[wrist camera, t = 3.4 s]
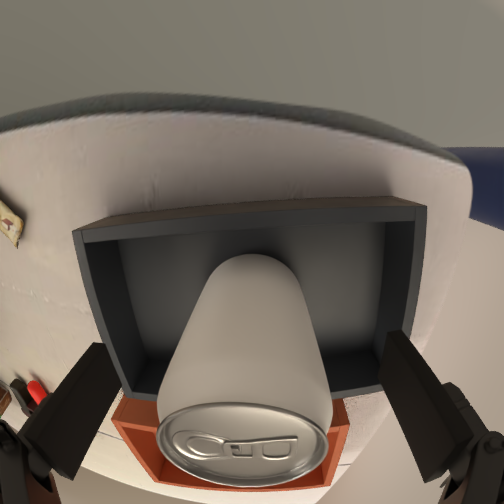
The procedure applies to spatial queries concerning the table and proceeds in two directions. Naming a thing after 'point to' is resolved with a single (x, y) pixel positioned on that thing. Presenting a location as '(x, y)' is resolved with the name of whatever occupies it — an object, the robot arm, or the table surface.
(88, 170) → the table surface
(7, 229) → the snack bar
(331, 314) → the grey bin
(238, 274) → the can
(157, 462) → the terracotta bin
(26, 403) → the toy gun
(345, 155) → the table surface
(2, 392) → the food container
